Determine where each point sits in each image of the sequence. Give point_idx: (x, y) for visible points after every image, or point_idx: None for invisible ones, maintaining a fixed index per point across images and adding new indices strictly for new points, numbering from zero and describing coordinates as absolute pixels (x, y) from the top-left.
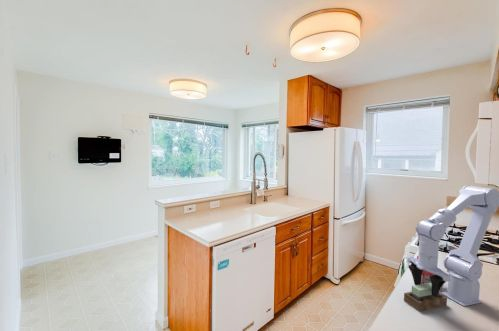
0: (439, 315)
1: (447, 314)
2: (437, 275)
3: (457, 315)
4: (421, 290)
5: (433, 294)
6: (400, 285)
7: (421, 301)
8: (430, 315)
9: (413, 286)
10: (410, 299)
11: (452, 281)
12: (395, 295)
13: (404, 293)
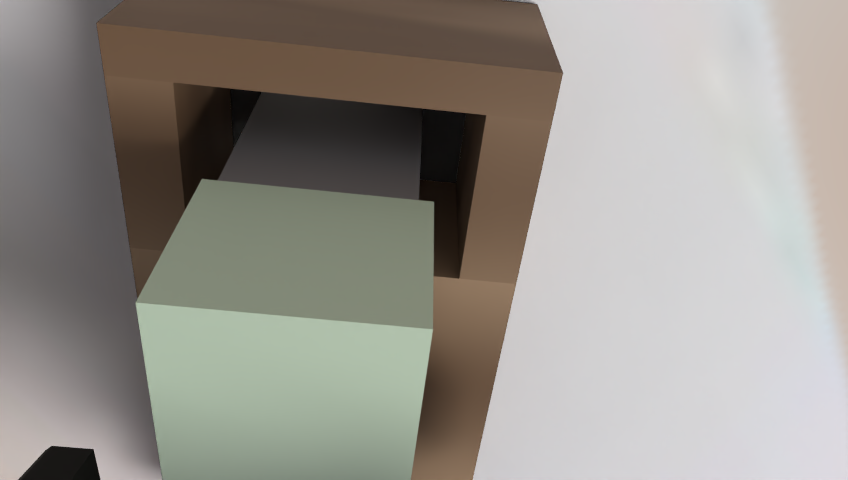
0: (21, 205)
1: (39, 329)
2: None
3: (12, 414)
4: (152, 362)
5: (29, 471)
6: (839, 383)
7: (149, 137)
8: (28, 59)
9: (382, 341)
10: (366, 27)
11: None
12: (744, 7)
13: (554, 67)
